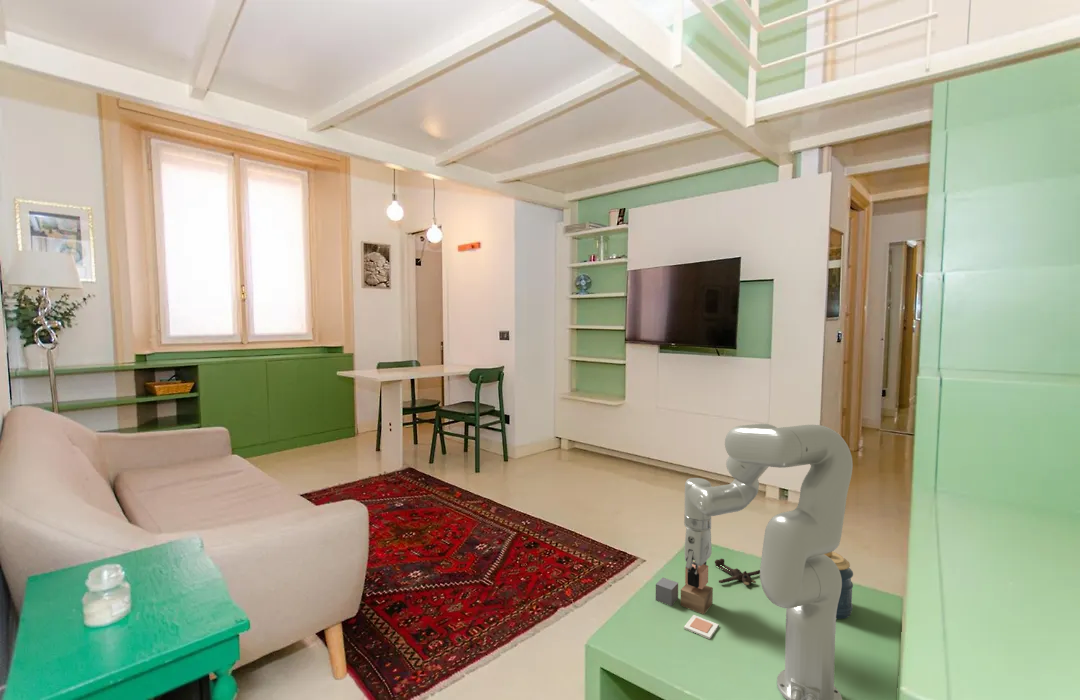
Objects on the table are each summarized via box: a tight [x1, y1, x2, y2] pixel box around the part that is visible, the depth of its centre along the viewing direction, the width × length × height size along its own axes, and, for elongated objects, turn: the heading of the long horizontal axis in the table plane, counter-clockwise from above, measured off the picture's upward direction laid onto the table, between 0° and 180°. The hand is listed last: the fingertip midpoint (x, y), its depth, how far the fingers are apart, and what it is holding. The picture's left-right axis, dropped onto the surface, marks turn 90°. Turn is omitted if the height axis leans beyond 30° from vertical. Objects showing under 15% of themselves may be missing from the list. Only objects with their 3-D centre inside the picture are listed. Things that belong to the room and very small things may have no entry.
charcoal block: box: [655, 577, 679, 607], centre depth 140 cm, size 5×5×5 cm
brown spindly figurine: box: [714, 558, 760, 586], centre depth 154 cm, size 18×4×14 cm
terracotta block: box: [684, 560, 709, 589], centre depth 137 cm, size 5×5×5 cm
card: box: [683, 614, 720, 640], centre depth 127 cm, size 7×7×1 cm
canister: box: [824, 551, 854, 620], centre depth 136 cm, size 13×13×18 cm
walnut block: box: [680, 583, 714, 615], centre depth 137 cm, size 7×7×5 cm
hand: (696, 581), depth 137 cm, fingers closed on terracotta block, 5 cm apart
